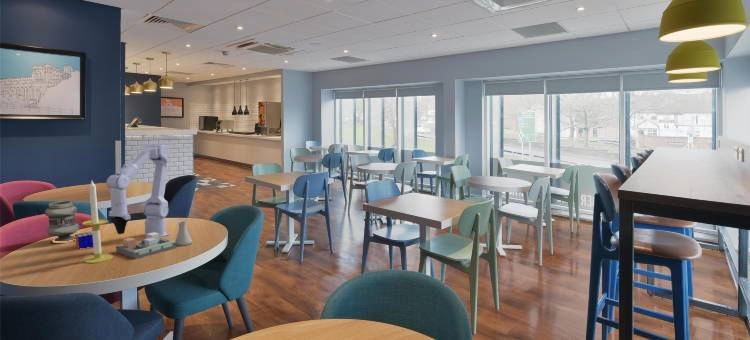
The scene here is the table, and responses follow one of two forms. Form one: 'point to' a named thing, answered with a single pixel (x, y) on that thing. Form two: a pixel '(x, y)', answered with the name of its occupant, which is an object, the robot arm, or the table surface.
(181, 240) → the flask
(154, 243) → the pale blue tilted box
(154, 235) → the pale grey square block
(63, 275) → the table surface
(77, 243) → the rubik's cube
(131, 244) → the clay pink cube
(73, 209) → the apothecary jar
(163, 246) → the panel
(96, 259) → the candle
